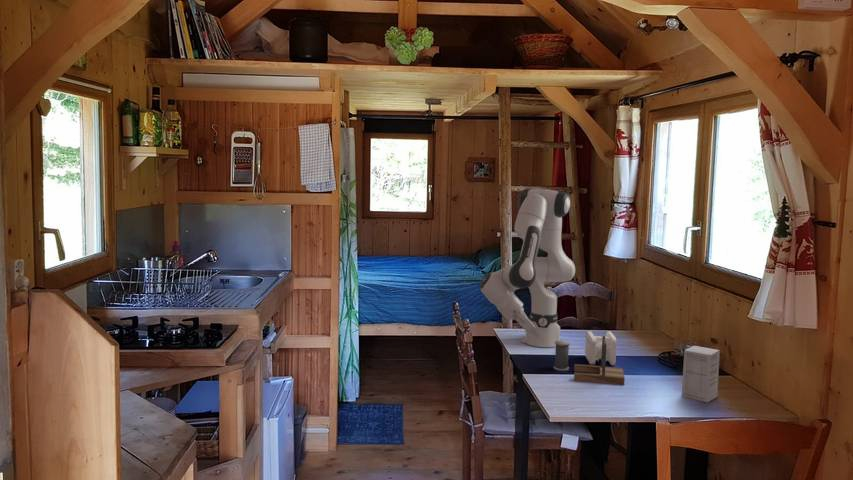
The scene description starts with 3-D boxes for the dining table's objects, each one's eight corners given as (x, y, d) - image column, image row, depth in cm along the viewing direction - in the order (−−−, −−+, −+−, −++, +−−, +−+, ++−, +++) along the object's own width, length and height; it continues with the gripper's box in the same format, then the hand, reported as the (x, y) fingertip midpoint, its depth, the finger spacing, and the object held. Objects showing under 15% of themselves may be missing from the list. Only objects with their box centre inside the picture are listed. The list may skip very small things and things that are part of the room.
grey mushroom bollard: (553, 365, 274) (555, 339, 273) (568, 367, 273) (570, 340, 272) (553, 370, 268) (554, 343, 267) (568, 371, 267) (569, 344, 266)
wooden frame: (574, 370, 269) (575, 333, 267) (621, 374, 265) (624, 337, 263) (574, 380, 256) (575, 342, 254) (624, 384, 252) (626, 346, 251)
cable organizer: (616, 368, 273) (617, 339, 272) (589, 366, 274) (590, 338, 273) (608, 357, 288) (610, 330, 287) (583, 356, 289) (584, 329, 288)
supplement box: (717, 396, 241) (721, 350, 240) (708, 403, 235) (711, 355, 233) (690, 390, 248) (693, 344, 246) (680, 396, 241) (683, 349, 239)
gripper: (522, 308, 257) (547, 334, 258) (514, 297, 277) (537, 321, 279) (510, 319, 257) (535, 345, 259) (502, 308, 278) (525, 332, 279)
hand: (536, 333), depth 269 cm, fingers open, 8 cm apart
